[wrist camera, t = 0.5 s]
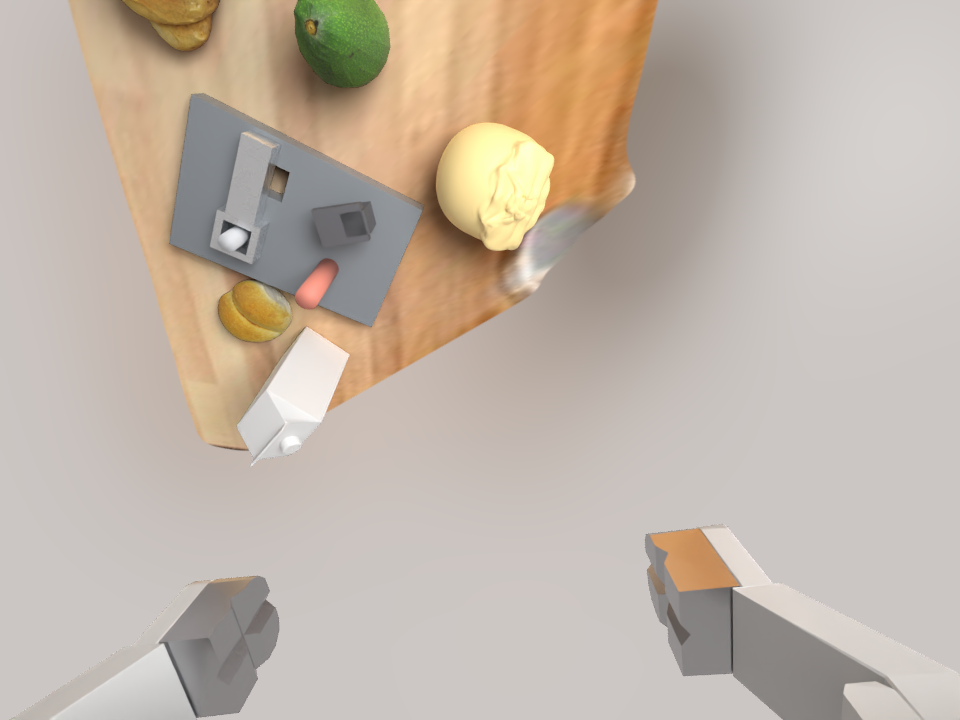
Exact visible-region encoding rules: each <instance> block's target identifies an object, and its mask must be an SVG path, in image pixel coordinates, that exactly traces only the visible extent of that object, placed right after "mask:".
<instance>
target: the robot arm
mask: <svg viewBox="0 0 960 720" xmlns="http://www.w3.org/2000/svg"><path fill="white" fill-rule="evenodd" d="M645 548H646V553H647V555H648V557H649V559H650V562H651V565H650V566H649V568H648V569H647V575H648V584H649V589H650V594H651V599H652V601H653V605H654V608H655V611H656V613H657V616H658V618H659V621H660V622H661V623H662V624H664V625H665V626H666V627H668V641H669V644H670V647H671V649H672V651H673V654H674V656H675V658H676V661H677V663H678V665H679V667H680V670H681V672H682V675H683V676H693V675H711V674H730V673H731V674H732V673H733V676H734V677H735V678H736V679H737V680H738V681H740V682H741V683H742V684H743V685H744V686H745V687H746V688H748V689H749V690H750V691H751V692H752V693H753V694H754V695H756V696H757V697H758V698H759V699H760V700H761V701H762V702H764V703H765V704H766V705H767V706H768V707H769V708H770V709H772V710H773V711H774V712H775V713H776V714H777V715H778V716H780V717H781V718H782V719H783V720H960V675H959V674H958V673H957V672H955V671H953V670H951V669H949V668H947V667H945V666H943V665H941V664H939V663H937V662H935V661H933V660H931V659H930V658H928V657H926V656H924V655H922V654H920V653H918V652H916V651H914V650H912V649H910V648H908V647H906V646H904V645H902V644H900V643H898V642H896V641H894V640H892V639H890V638H888V637H886V636H884V635H882V634H881V633H879V632H877V631H875V630H873V629H871V628H869V627H867V626H865V625H863V624H861V623H859V622H857V621H855V620H853V619H851V618H849V617H847V616H845V615H843V614H841V613H839V612H837V611H835V610H833V609H831V608H830V607H828V606H826V605H824V604H822V603H820V602H818V601H816V600H814V599H812V598H810V597H808V596H806V595H804V594H802V593H800V592H798V591H796V590H794V589H792V588H790V587H788V586H786V585H784V584H782V583H777V584H773V583H772V582H771V580H770V579H769V578H768V577H767V575H766V574H765V573H764V572H763V570H762V569H761V568H760V567H759V566H758V564H757V563H756V562H755V561H754V559H753V558H752V557H751V556H750V555H749V553H748V552H747V551H746V550H745V548H744V547H743V546H742V545H741V543H740V542H739V541H738V540H737V538H736V537H735V536H734V535H733V533H732V532H731V531H730V530H729V529H728V527H727V526H725V525H723V524H719V525H711V526H705V527H697V528H696V529H686V530H677V531H668V532H660V533H651V534H646V537H645ZM269 591H270V590H269V587H268V585H267V582H266V580H265V578H263V577H260V576H249V577H237V578H226V579H216V580H206V581H195V582H193V583H191V584H188V585H187V586H186V587H185V588H184V589H183V590H182V591H181V592H180V593H179V594H178V595H177V596H176V598H175V599H174V600H173V601H172V602H171V603H170V604H169V605H168V606H167V607H166V609H165V610H164V611H163V612H162V613H161V614H160V615H159V616H158V618H156V620H155V621H154V622H153V623H152V624H151V625H150V626H149V627H148V628H147V630H146V631H145V632H144V633H143V634H142V635H141V636H140V637H139V638H138V639H137V641H136V642H135V643H134V644H133V645H132V646H130V647H123V648H122V649H120V650H119V651H117V652H116V653H114V654H112V655H111V656H109V657H108V658H106V659H105V660H103V661H101V662H100V663H98V664H97V665H95V666H94V667H92V668H91V669H89V670H87V671H86V672H84V673H82V674H81V675H79V676H78V677H76V678H75V679H73V680H71V681H70V682H68V683H67V684H65V685H64V686H62V687H60V688H59V689H57V690H56V691H54V692H53V693H51V694H49V695H48V696H46V697H45V698H43V699H42V700H40V701H38V702H37V703H35V704H34V705H32V706H31V707H29V708H27V709H26V710H24V711H23V712H21V713H20V714H18V715H16V716H15V717H13V718H12V719H10V720H197V719H196V718H198V717H207V716H216V715H224V714H232V713H239V712H240V710H241V708H242V707H243V705H244V703H245V701H246V699H247V698H248V696H249V694H250V692H251V690H252V688H253V687H254V685H255V683H256V681H257V679H258V678H257V671H256V669H257V668H258V667H259V666H260V665H261V664H263V663H264V662H265V661H266V660H267V659H268V658H269V657H270V655H271V653H272V651H273V649H274V648H275V646H276V642H277V637H278V633H279V617H278V614H277V611H276V608H275V607H274V606H273V605H272V604H270V603H269V602H268V601H267V600H266V598H267V596H268V594H269Z"/></svg>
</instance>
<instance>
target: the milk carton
mask: <svg viewBox="0 0 960 720" xmlns="http://www.w3.org/2000/svg"><path fill="white" fill-rule="evenodd" d="M348 358H349V354H348V353H346V352H345V351H343V350H342V349H340V348H339V347H337V346H336V345H334V344H333V343H331V342H330V341H328V340H327V339H325V338H324V337H322V336H321V335H319V334H318V333H316V332H315V331H313V330H312V329H310V328H309V327H307V326H306V327H305V328H304V330H303V331H302V332H301V333H300V335H299V336H298V337H297V338H296V340H295V341H294V342H293V343H292V345H291V346H290V347H289V348H288V350H287V351H286V352H285V353H284V355H283V356H282V357H281V359H280V360H279V362H278V364H277V365H276V367H275V368H274V370H273V371H272V373H271V374H270V376H269V377H268V379H267V380H266V382H265V383H264V385H263V386H262V388H261V390H260V391H259V393H258V394H257V396H256V397H255V399H254V400H253V402H252V403H251V405H250V406H249V408H248V409H247V411H246V413H245V414H244V416H243V417H242V419H241V420H240V422H239V423H238V425H237V429H238V431H239V433H240V434H241V436H242V438H243V440H244V442H245V444H246V446H247V448H248V449H249V451H250V453H251V455H252V457H253V461H252V463H251V464H250V466H252V465H254V463H255V462H256V461H257V460H258V459H265V458H273V457H281V456H289V455H291V454H292V453H294V452H296V451H298V450H299V449H300V448H301V447H302V443H303V442H304V441H305V439H306V438H307V437H308V436H309V435H310V434H311V433H312V432H313V431H314V430H315V429H316V428H317V427H318V426H319V424H320V423H321V422H322V420H323V418H324V415H325V413H326V411H327V408H328V406H329V403H330V401H331V399H332V396H333V394H334V391H335V389H336V386H337V384H338V382H339V379H340V377H341V374H342V372H343V370H344V367H345V365H346V362H347V360H348Z"/></svg>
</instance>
